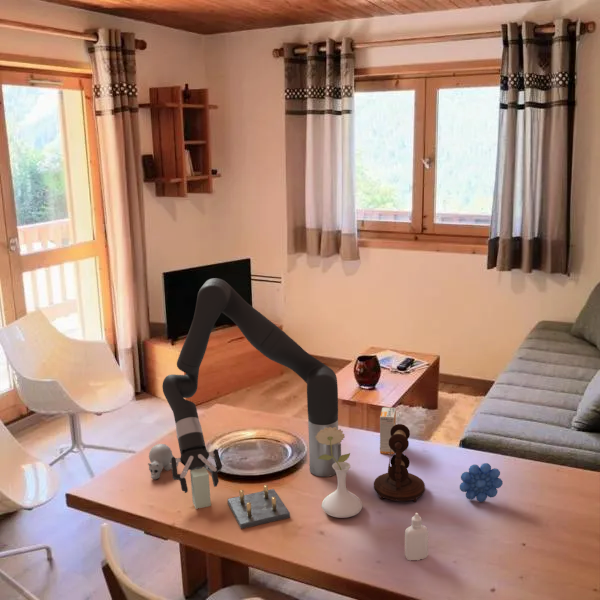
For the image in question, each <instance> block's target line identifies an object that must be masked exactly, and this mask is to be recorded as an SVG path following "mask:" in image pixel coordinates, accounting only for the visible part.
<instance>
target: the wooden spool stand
mask: <svg viewBox="0 0 600 600" xmlns="http://www.w3.org/2000/svg"><path fill="white" fill-rule="evenodd" d="M390 434H391V437H390V439H389V446H390V454H389V456H390V457H389V460H388V467H387V472H385V473H382V474H380V475H378V476H377V477H376V478H375V479H374V481H373V490H374V492H375V493H376V494H377V495H379V498H380V500H383V499H387V500H391V501H398V502H406V501H413V502H414V503H416V501H417V499H418V498H420V497H421V496H422V495H423V494H424V493H425V491H426V489H425V488H426V484H425V481H424V480H423V479H422V478H421V477H419V476H417V475H415V474H413V473H411V472H409V470H408V468H409V467H410V459H409V457H408V456H407V454H404V452H406V450H407V449H408V448H409V444H410V443H409V438H410V435H411V431H410V428H409V427H408V426H406V425H405V424H402V423H397V424H396V425H394V426H393V427H392V428H391V431H390ZM391 449H392V450H393V451H394V454H391ZM391 455H392V456H391Z"/></svg>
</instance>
